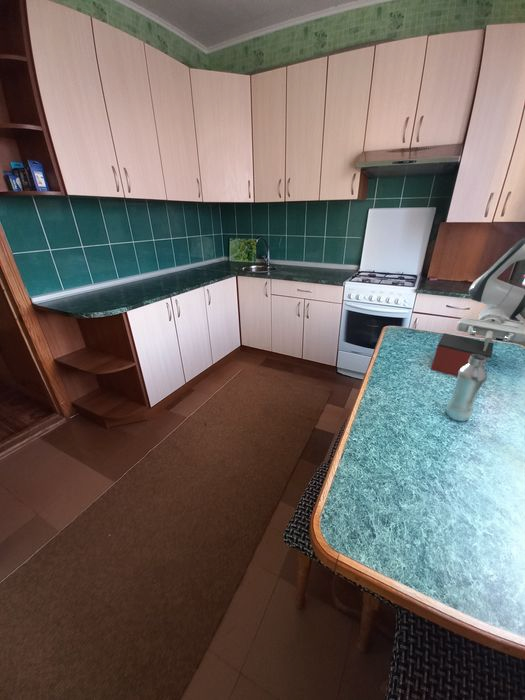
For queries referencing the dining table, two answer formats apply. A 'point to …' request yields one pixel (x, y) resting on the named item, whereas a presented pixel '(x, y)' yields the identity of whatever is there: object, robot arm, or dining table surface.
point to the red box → (450, 360)
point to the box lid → (468, 344)
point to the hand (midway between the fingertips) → (489, 336)
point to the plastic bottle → (467, 388)
